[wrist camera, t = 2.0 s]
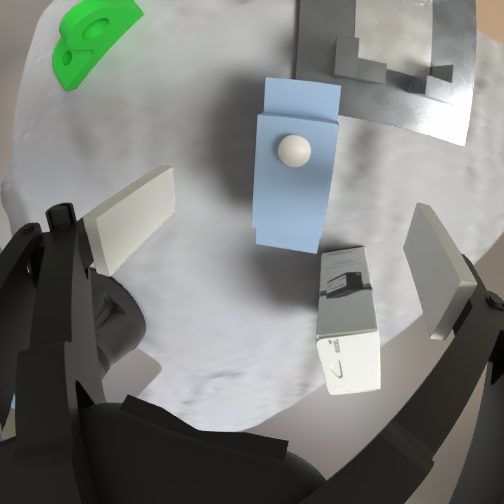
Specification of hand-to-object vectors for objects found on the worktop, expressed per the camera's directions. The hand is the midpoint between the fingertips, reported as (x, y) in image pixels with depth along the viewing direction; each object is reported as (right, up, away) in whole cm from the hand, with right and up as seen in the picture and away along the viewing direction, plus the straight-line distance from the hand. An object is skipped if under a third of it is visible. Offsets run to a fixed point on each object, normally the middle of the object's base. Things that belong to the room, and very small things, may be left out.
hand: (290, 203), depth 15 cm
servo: (+2, +6, +10) cm, 13 cm away
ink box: (+9, -6, +16) cm, 19 cm away
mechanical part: (-19, +21, +7) cm, 29 cm away
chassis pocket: (+10, +17, +2) cm, 20 cm away
